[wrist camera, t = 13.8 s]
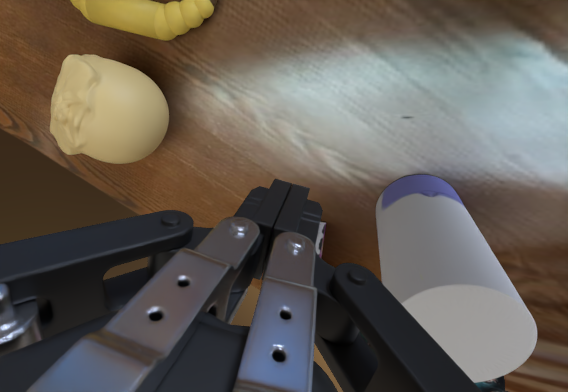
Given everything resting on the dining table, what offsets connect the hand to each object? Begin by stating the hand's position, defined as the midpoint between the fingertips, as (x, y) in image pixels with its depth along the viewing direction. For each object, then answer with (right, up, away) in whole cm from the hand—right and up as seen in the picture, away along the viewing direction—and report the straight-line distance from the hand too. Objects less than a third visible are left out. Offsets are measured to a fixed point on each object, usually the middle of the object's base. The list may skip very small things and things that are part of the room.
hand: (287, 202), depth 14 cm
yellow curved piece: (-17, +21, +24) cm, 36 cm away
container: (+17, -2, +28) cm, 33 cm away
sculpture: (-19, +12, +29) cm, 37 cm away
